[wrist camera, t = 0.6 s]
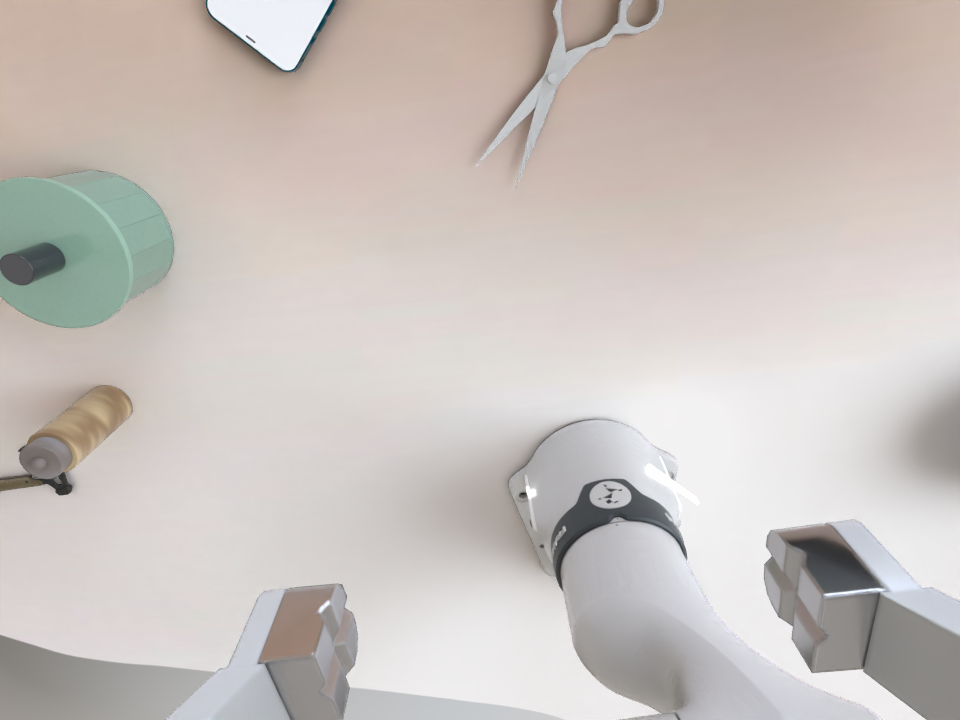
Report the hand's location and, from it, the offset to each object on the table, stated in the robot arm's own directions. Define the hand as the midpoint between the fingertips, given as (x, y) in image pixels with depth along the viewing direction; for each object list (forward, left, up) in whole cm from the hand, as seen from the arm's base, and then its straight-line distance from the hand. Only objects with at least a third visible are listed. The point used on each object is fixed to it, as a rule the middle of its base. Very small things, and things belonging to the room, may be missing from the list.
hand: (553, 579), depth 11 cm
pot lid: (+3, +35, -36) cm, 50 cm away
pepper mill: (-14, +42, -44) cm, 62 cm away
